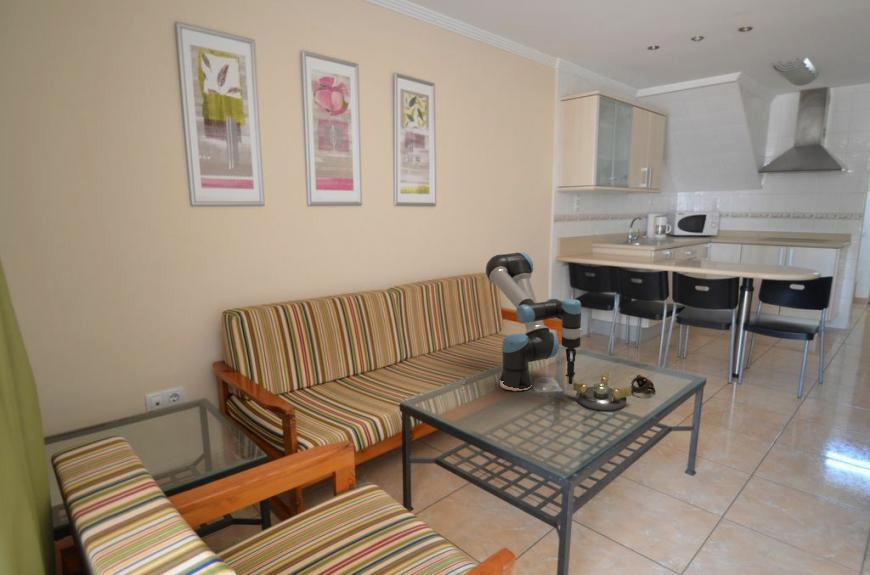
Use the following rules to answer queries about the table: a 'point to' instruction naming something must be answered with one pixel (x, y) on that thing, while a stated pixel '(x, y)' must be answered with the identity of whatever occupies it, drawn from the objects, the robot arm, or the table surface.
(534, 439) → the table surface
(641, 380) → the brown animal skull
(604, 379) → the knob
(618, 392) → the knob
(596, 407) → the tribrach
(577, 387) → the knob
